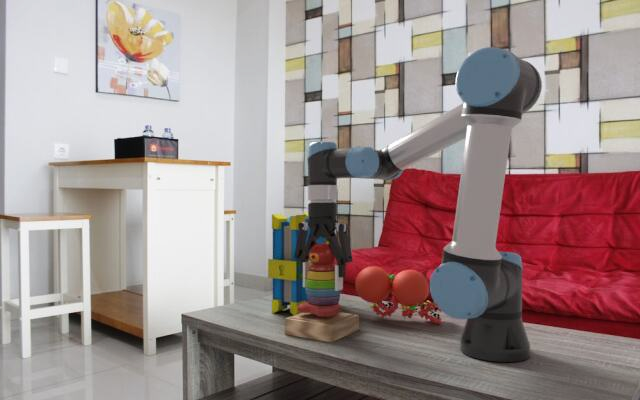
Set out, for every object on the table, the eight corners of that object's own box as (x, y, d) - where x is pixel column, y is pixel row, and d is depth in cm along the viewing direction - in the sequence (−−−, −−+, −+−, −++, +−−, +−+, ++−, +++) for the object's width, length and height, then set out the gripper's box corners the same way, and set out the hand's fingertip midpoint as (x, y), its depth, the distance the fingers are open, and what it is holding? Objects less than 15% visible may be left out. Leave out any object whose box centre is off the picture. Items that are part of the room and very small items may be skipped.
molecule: (351, 323, 143) (351, 268, 143) (359, 315, 153) (359, 263, 153) (444, 329, 136) (444, 271, 136) (445, 320, 147) (445, 266, 147)
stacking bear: (293, 311, 133) (293, 242, 133) (320, 305, 141) (320, 240, 141) (324, 317, 126) (324, 245, 126) (350, 311, 134) (350, 242, 134)
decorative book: (263, 313, 155) (263, 214, 155) (308, 300, 174) (308, 212, 174) (301, 319, 147) (301, 215, 147) (344, 305, 166) (344, 213, 166)
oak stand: (358, 329, 136) (358, 313, 136) (331, 342, 124) (331, 324, 124) (314, 322, 143) (314, 307, 143) (284, 334, 131) (284, 317, 131)
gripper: (366, 201, 131) (366, 289, 131) (296, 201, 142) (296, 282, 142) (352, 201, 124) (352, 294, 124) (280, 201, 136) (280, 286, 136)
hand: (322, 288), depth 133 cm, fingers closed on stacking bear, 9 cm apart
